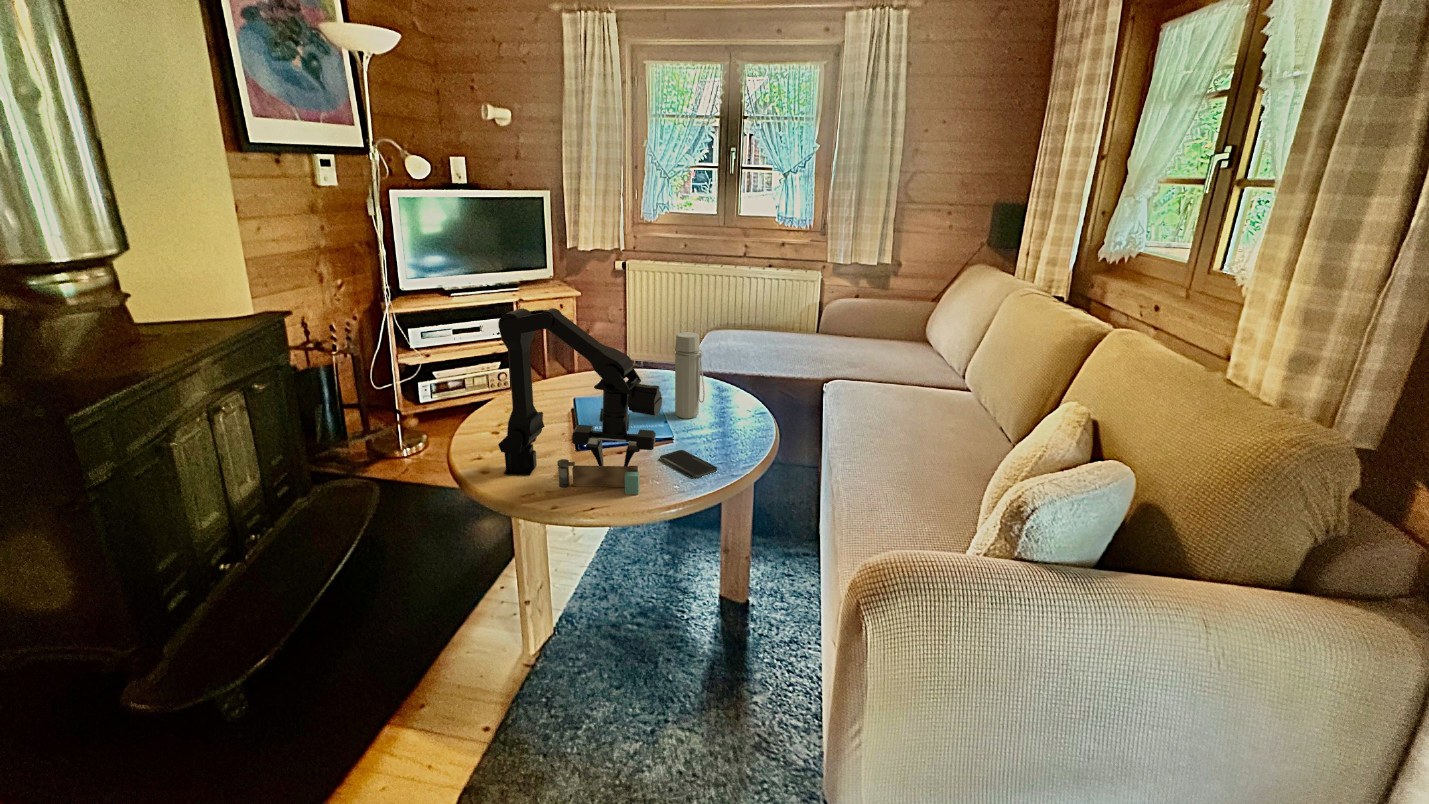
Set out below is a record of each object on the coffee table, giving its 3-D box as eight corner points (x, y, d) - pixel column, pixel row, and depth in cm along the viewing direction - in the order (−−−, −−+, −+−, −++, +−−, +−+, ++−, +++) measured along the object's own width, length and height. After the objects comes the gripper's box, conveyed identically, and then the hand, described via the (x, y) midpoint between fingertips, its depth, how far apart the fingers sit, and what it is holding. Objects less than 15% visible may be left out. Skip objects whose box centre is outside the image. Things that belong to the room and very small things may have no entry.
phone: (694, 476, 163) (658, 456, 174) (694, 481, 164) (658, 460, 174) (719, 468, 168) (682, 448, 179) (719, 472, 169) (682, 452, 179)
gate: (557, 486, 158) (556, 463, 156) (560, 481, 160) (558, 459, 158) (637, 488, 158) (636, 465, 156) (638, 483, 160) (637, 460, 158)
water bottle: (670, 417, 202) (670, 336, 194) (681, 409, 209) (681, 330, 201) (699, 422, 199) (700, 339, 191) (708, 413, 206) (710, 333, 198)
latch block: (625, 494, 156) (624, 475, 154) (626, 489, 158) (625, 471, 156) (638, 494, 156) (637, 476, 154) (639, 489, 158) (638, 472, 156)
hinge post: (558, 487, 158) (557, 469, 156) (560, 483, 160) (559, 464, 159) (568, 488, 158) (567, 469, 156) (570, 483, 160) (569, 465, 159)
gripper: (659, 400, 163) (656, 459, 168) (581, 393, 162) (580, 453, 168) (654, 416, 152) (651, 479, 157) (571, 410, 152) (571, 473, 157)
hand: (613, 470), depth 160 cm, fingers open, 5 cm apart
